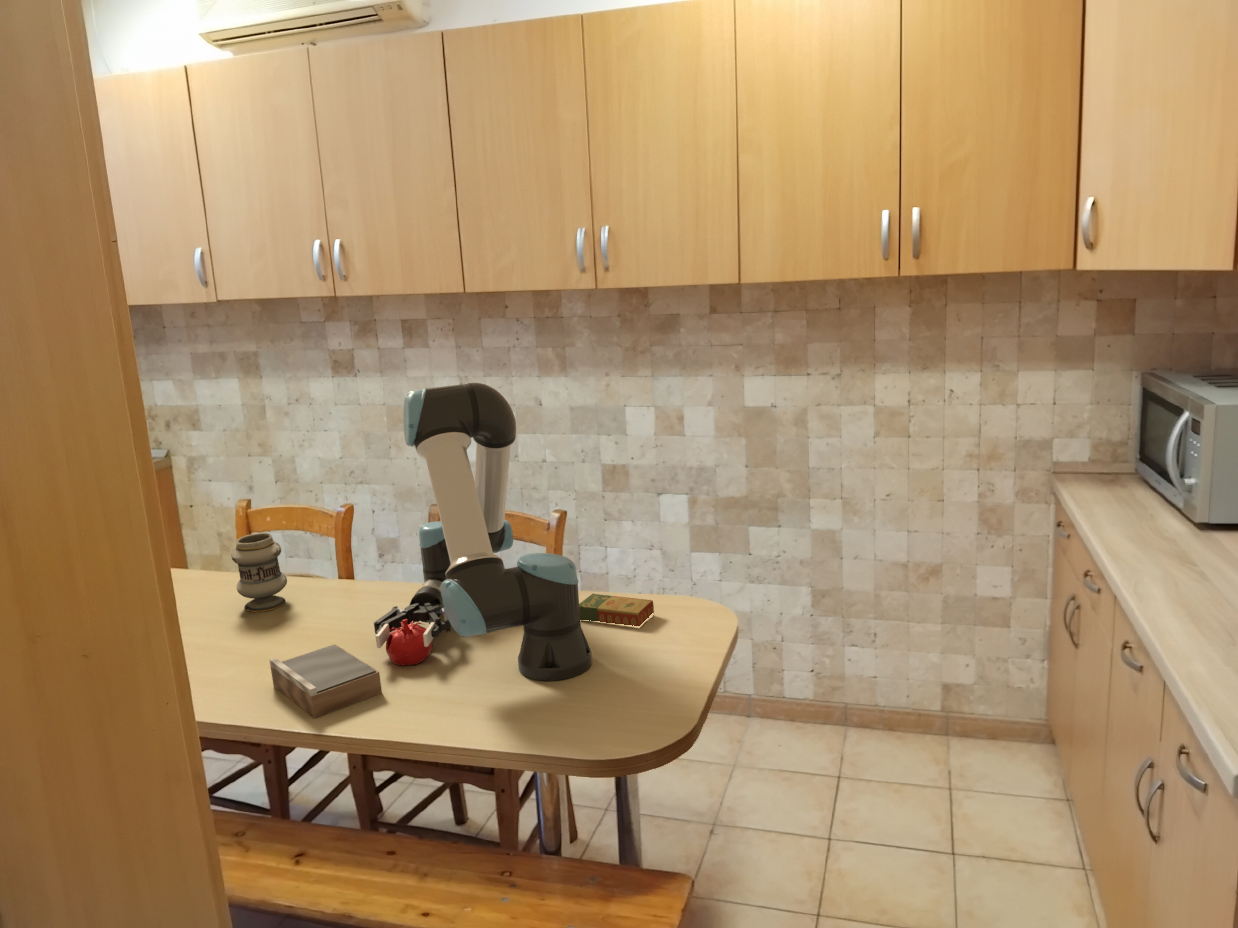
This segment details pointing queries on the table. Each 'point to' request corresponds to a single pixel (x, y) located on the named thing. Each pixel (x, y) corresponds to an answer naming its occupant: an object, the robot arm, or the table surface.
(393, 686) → the table surface
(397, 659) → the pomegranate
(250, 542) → the apothecary jar
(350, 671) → the tray
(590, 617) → the carton
